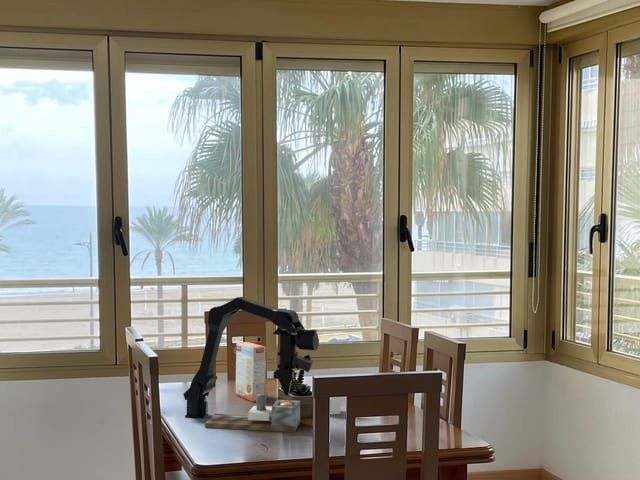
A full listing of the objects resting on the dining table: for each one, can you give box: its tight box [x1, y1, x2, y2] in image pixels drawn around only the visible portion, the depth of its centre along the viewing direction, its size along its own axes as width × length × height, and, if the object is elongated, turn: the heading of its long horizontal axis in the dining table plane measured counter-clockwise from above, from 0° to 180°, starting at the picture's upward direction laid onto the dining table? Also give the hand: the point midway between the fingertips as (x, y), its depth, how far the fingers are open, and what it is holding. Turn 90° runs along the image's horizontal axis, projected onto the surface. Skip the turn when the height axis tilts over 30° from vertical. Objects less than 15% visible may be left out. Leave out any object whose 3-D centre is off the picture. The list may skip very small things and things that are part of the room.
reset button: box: [280, 402, 292, 406], centre depth 235 cm, size 4×4×2 cm
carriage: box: [247, 393, 272, 421], centre depth 236 cm, size 7×9×7 cm
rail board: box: [204, 399, 301, 433], centre depth 236 cm, size 30×12×8 cm, turn 84°
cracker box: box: [234, 341, 267, 402], centre depth 274 cm, size 14×6×21 cm, turn 35°
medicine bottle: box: [330, 397, 342, 416], centre depth 253 cm, size 7×7×12 cm
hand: (286, 395), depth 235 cm, fingers closed
